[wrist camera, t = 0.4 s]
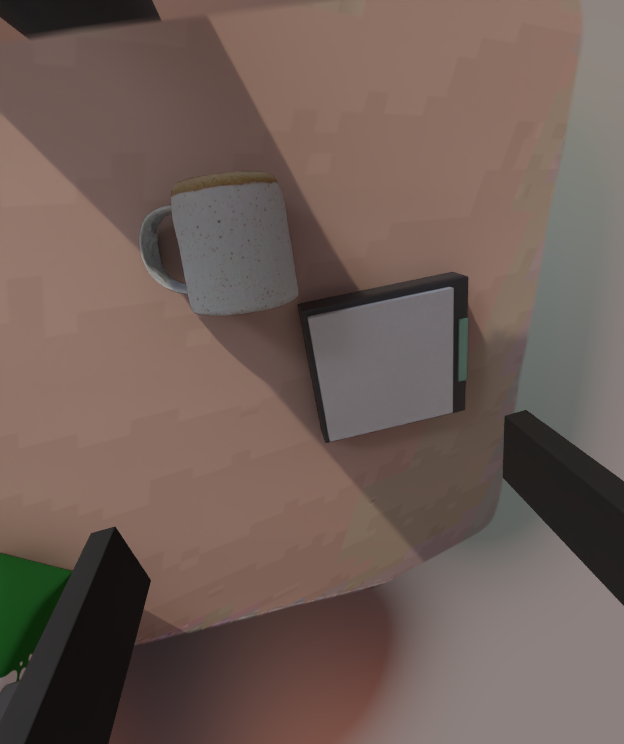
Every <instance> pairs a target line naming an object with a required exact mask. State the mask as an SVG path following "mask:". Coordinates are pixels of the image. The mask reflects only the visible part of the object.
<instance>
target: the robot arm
mask: <svg viewBox="0 0 624 744" xmlns="http://www.w3.org/2000/svg"><path fill="white" fill-rule="evenodd" d="M503 478H504V479H505V480H506V481H507V482H508V483H509V484H510V486H511V487H512V488H513V489H514V490H515V491H516V492H517V493H518V494H519V495H520V496H521V497H522V498H523V499H524V500H525V501H526V502H527V504H528V505H530V507H531V508H532V509H533V510H534V511H535V512H536V513H537V514H538V515H539V516H540V517H541V518H542V519H543V521H544V522H545V523H546V524H547V525H548V526H549V527H550V528H551V529H552V530H553V531H554V532H555V533H556V534H557V535H558V536H559V537H560V539H561V540H562V541H563V542H565V544H566V545H567V546H568V547H569V548H570V549H571V550H572V551H573V552H574V553H575V554H576V556H577V557H578V558H579V559H580V560H581V561H582V562H583V563H584V564H585V565H586V566H587V567H588V568H589V569H590V570H591V571H592V573H593V574H594V575H595V576H596V577H597V578H598V579H599V580H600V581H601V582H602V583H603V584H604V585H605V586H606V587H607V588H608V589H609V591H610V592H611V593H612V594H613V595H614V596H615V597H616V598H617V599H618V600H619V601H620V602H621V603H622V604H623V605H624V481H623V480H621V479H620V478H619V477H617V476H616V475H615V474H613V473H612V472H610V471H609V470H608V469H606V468H605V467H604V466H602V465H601V464H599V463H598V462H597V461H595V460H594V459H593V458H591V457H590V456H588V455H587V454H586V453H584V452H583V451H582V450H580V449H579V448H577V447H576V446H575V445H573V444H572V443H570V442H569V441H568V440H567V439H565V438H564V437H562V436H561V435H560V434H558V433H557V432H556V431H554V430H553V429H551V428H550V427H549V426H547V425H546V424H545V423H543V422H542V421H540V420H539V419H538V418H536V417H535V416H534V415H532V414H531V413H529V412H528V411H527V410H524V411H521V412H517V413H514V414H510V415H507V416H505V422H504V453H503ZM150 582H151V580H150V578H149V577H148V575H147V574H146V572H145V571H144V569H143V568H142V566H141V565H140V563H139V562H138V560H137V559H136V557H135V556H134V554H133V553H132V551H131V550H130V548H129V547H128V545H127V544H126V542H125V541H124V539H123V538H122V536H121V534H120V533H119V531H118V530H117V528H116V527H112V528H108V529H105V530H101V531H98V532H94V533H91V534H90V537H89V539H88V541H87V543H86V545H85V547H84V549H83V551H82V553H81V555H80V557H79V559H78V561H77V563H76V566H75V568H74V570H73V572H72V574H71V576H70V578H69V580H68V582H67V584H66V586H65V588H64V590H63V592H62V595H61V597H60V599H59V601H58V603H57V605H56V607H55V609H54V611H53V613H52V615H51V617H50V619H49V621H48V624H47V626H46V628H45V630H44V632H43V634H42V636H41V638H40V640H39V642H38V644H37V646H36V648H35V650H34V653H33V655H32V657H31V659H30V661H29V663H28V665H27V667H26V669H25V671H24V673H23V675H22V677H21V679H20V681H17V682H13V683H10V684H7V685H5V686H4V688H3V689H2V690H1V692H0V744H108V743H109V739H110V735H111V731H112V727H113V724H114V720H115V716H116V712H117V708H118V704H119V701H120V697H121V693H122V689H123V685H124V681H125V678H126V674H127V670H128V666H129V663H130V659H131V655H132V651H133V647H134V643H135V640H136V636H137V632H138V628H139V624H140V620H141V617H142V613H143V609H144V605H145V601H146V597H147V594H148V590H149V586H150Z"/></svg>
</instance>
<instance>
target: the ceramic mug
mask: <svg viewBox="0 0 624 744" xmlns="http://www.w3.org/2000/svg"><path fill="white" fill-rule="evenodd" d="M170 214H172V219H173V224H174V228H175V232H176V236H177V240H178V245H179V249H180V255H181V260H182V265H183V270H184V276H185V281H186V284H183V283H180V282H178V281H176V280H175V279H173V278H172V277H171V276H170V275H169V274H167V272H166V271H165V269H164V267H163V266H162V263H161V259H160V253H159V247H158V238H159V237H158V234H157V232H156V231H157V228H158V225H159V224H160V222H161V221H162V220H163V218H165V217H166V216H169V215H170ZM139 241H140V243H139V245H140V252H141V256H142V259H143V262H144V265H145V267H146V269H147V271H148V272H149V274H150V275H151V276H152V277H153V278H154V279H155V280H156V281H157V282H158V283H159V284H160V285H162V286H164V287H165V288H167V289H169V290H172V291H174V292H178V293H181V294H187V295H188V297H189V302H190V306H191V309H192V311H193V312H194V313H197V314H201V315H207V316H214V315H215V316H225V315H237V314H245V313H251V312H256V311H261V310H267V309H271V308H276V307H279V306H282V305H284V304H286V303H288V302H291V301H293V300H294V299H295V298H296V297H297V296H298V286H297V279H296V274H295V266H294V259H293V253H292V247H291V241H290V235H289V229H288V221H287V214H286V208H285V202H284V199H283V195H282V192H281V188H280V185H279V183H278V181H277V180H276V179H275V177H274V176H272V175H271V174H269V173H267V172H261V171H241V172H229V173H217V174H211V175H205V176H199V177H194V178H190V179H186V180H183V181H180V182H178V183H176V185H175V186H174V188H173V190H172V191H171V205H167V206H162V207H160V208H158V209H155V210H154V211H152V212H151V213H149V214H148V215H147V216H146V217H145V219H144V221H143V223H142V226H141V229H140V234H139Z"/></svg>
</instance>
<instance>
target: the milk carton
mask: <svg viewBox="0 0 624 744" xmlns="http://www.w3.org/2000/svg"><path fill="white" fill-rule="evenodd" d="M72 572H73V571H69V570H65V569H61V568H57V567H53V566H49V565H45V564H41V563H37V562H33V561H30V560H26V559H22V558H18V557H14V556H10V555H6V554H2V553H0V692H1V690H2V689H3V688H4V686H5V685H7V684H10V683H13V682H17V681H20V679H21V677H22V675H23V673H24V671H25V669H26V667H27V665H28V663H29V661H30V659H31V657H32V655H33V653H34V650H35V648H36V646H37V644H38V642H39V640H40V638H41V636H42V634H43V632H44V630H45V628H46V626H47V624H48V621H49V619H50V617H51V615H52V613H53V611H54V609H55V607H56V605H57V603H58V601H59V599H60V597H61V595H62V592H63V590H64V588H65V586H66V584H67V582H68V580H69V578H70V576H71V574H72Z"/></svg>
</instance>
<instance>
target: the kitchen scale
mask: <svg viewBox="0 0 624 744" xmlns="http://www.w3.org/2000/svg"><path fill="white" fill-rule="evenodd" d="M467 308H468V276H464V275H461V274H458V273H455V272H450V273H445V274H440V275H435V276H430V277H426V278H421V279H416V280H411V281H406V282H402V283H397V284H392V285H387V286H382V287H377V288H373V289H368V290H363V291H358V292H353V293H349V294H344V295H339V296H334V297H329V298H324V299H320V300H315V301H310V302H305V303H300V304H298V310H299V316H300V321H301V326H302V332H303V337H304V342H305V348H306V353H307V358H308V363H309V369H310V374H311V379H312V385H313V390H314V395H315V401H316V406H317V411H318V417H319V422H320V427H321V431H322V434H323V437H324V440H325V443H329V442H333V441H337V440H341V439H346V438H350V437H354V436H358V435H362V434H367V433H371V432H375V431H379V430H383V429H388V428H392V427H396V426H400V425H404V424H409V423H413V422H417V421H421V420H425V419H430V418H434V417H438V416H442V415H446V414H451V413H455V412H459V411H463V410H465V388H466V380H467V348H468V318H467Z"/></svg>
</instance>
